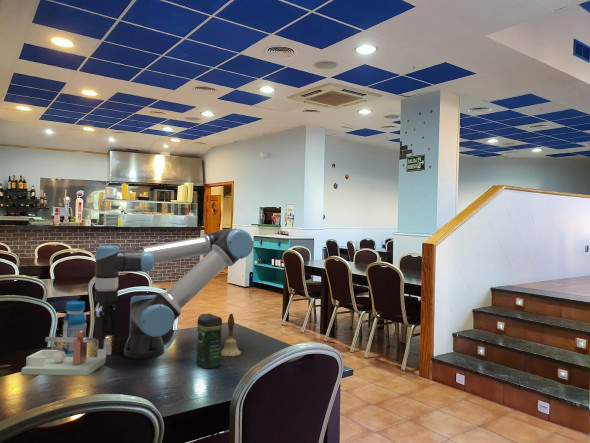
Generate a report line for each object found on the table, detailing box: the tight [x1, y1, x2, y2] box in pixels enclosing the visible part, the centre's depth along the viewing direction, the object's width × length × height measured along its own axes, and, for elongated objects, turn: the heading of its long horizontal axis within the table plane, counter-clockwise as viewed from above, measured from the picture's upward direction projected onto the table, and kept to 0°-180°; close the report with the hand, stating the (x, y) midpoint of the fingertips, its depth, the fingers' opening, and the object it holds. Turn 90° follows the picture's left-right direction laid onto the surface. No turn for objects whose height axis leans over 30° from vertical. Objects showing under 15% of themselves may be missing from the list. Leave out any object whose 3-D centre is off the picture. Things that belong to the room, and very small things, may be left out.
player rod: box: [44, 330, 115, 364], centre depth 152 cm, size 23×5×11 cm, turn 91°
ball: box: [53, 350, 67, 363], centre depth 151 cm, size 4×4×4 cm
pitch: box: [20, 349, 106, 377], centre depth 151 cm, size 22×14×5 cm, turn 91°
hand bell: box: [221, 313, 242, 357], centre depth 174 cm, size 8×8×16 cm
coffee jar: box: [195, 313, 223, 369], centre depth 159 cm, size 10×8×19 cm
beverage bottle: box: [61, 300, 88, 357], centre depth 170 cm, size 8×8×20 cm
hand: (104, 355), depth 152 cm, fingers closed on player rod, 4 cm apart
